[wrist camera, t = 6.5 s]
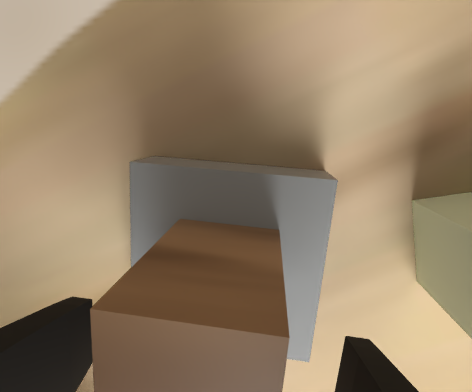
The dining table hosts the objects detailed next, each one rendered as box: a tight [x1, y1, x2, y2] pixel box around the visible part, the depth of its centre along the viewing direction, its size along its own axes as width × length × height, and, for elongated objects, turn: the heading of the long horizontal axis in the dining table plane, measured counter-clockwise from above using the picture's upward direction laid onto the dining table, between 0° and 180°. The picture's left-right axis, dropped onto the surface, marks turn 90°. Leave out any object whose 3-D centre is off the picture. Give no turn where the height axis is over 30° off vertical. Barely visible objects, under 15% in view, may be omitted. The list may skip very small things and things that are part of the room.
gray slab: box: [130, 156, 338, 362], centre depth 13 cm, size 8×8×3 cm
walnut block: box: [90, 219, 290, 392], centre depth 9 cm, size 4×4×6 cm
